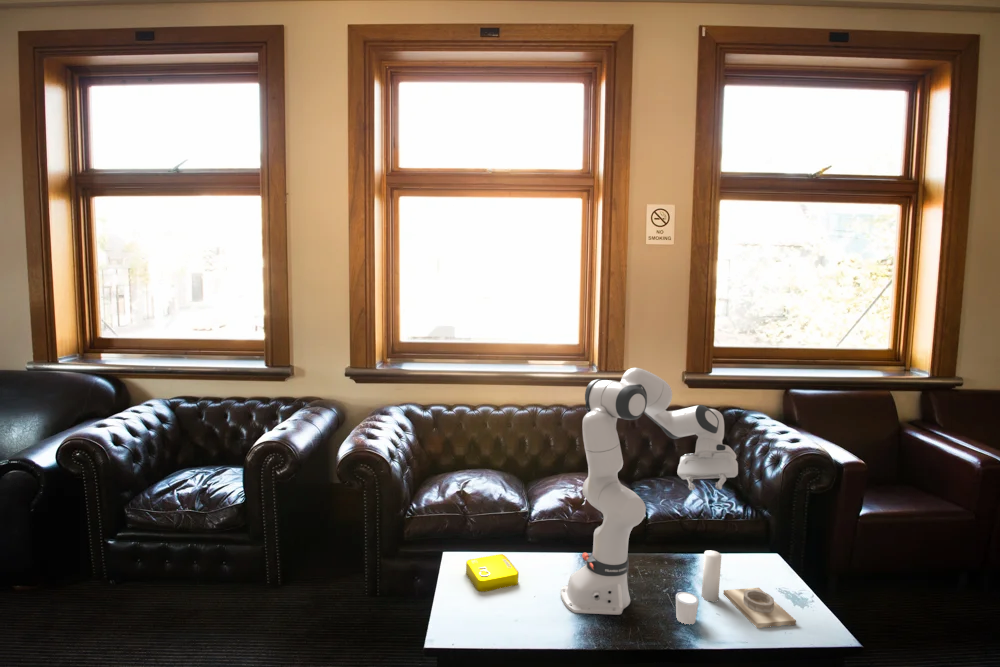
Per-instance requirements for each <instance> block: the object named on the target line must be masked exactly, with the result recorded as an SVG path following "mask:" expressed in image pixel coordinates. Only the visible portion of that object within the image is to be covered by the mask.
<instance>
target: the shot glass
mask: <svg viewBox="0 0 1000 667" xmlns="http://www.w3.org/2000/svg"><path fill="white" fill-rule="evenodd" d="M699 600H700V599H699V598H698V596H697V595H695V594H694V593H691V592H686V591H680V592H679V591H678V592H677V593H676V594H675V614H676V615H675V616H676V618H677V621H678V622H679V623H680V622H681V624H683V623H684V624H683V625H686V624H689V625H688V626H691V625H690V624H692V625H694V624H695V623H696V621H697V613H698V608H699V602H700V601H699Z"/></svg>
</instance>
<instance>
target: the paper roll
mask: <svg viewBox="0 0 1000 667" xmlns="http://www.w3.org/2000/svg"><path fill="white" fill-rule="evenodd" d="M703 554H704V555H703V569H702V586H701V598H702V597H703V598H704V599H703V598H702V599H703V600H704V601H706V600H708V601H707V602H709V601H714V602H713V603H716V602H715V601H717V600H718V601H719V595H720V580H721V568H722V567H721V565H722V554H721V552H718V551H716V550H704V552H703ZM718 601H717V602H718Z"/></svg>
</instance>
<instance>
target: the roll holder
mask: <svg viewBox="0 0 1000 667" xmlns="http://www.w3.org/2000/svg"><path fill="white" fill-rule="evenodd" d="M723 594H724V595H725V596H726V597H727V598H728V599H729V600H730V601H729V600H728V599H727V598H726V597H725V596H724V597H725V598H726V599H727V600H728V601H729V602H730V603H731V604H732V605H733V606H734V607H735V608H736V609H737V610H738V611H739V612H740V613H741V614H742V615H743V616H744V617H745V618H746V619H747V620H748V621H749V622H750V623H753V624H754V625H755V626H756V627H757V628H756V627H755V626H754V627H755V628H756V629H763V628H762V627H766V628H773V627H772V626H777V627H782V626H781V625H788V626H796V624H797V619H795V618H794V617H793V616H792V615H790V613H788V612H787V610H785V609H784V608H783V607H782V606H781V605H779V604H778V603H777V602H776V601H775V599H774V597H773V596H771V595H770V593H767V592H764V591H763V589H761V588H760V587H750V588H749V587H748V588H737V589H736V588H734V589H724V590H723ZM753 624H752V625H753ZM770 626H771V627H770Z"/></svg>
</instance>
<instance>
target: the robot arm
mask: <svg viewBox="0 0 1000 667" xmlns="http://www.w3.org/2000/svg"><path fill="white" fill-rule="evenodd" d="M672 399H673V391H672V387H671V385H669V384H668V382H667V381H665V379H663V378H661V377H660V376H658V375H657V374H655V373H652V372H651V371H649V370H646V369H644V368H639V367H631V368H629V369H627V370H626V371H625V372H624V373H623V375H622V376H621V378H620V381H618V380H613V379H612V380H611V379H609V380H608V379H606V378H597V379H594V380H591V381H590V382H589V383H588V385H587V386H586V389H585V393H584V402H585V408H586V410H587V412H586V414H585V415H584V416H583V418H582V424H581V425H582V428H581V429H582V441H583V445H584V446H583V447H584V452H585V455H586V462H587V468H588V470H587V471H588V472H587V473H588V475H587V478H586V479H585V480H584V481H583V484H582V488H581V490H582V495H583V497H584V498H585V499H586V500H587V502H588V503H589V504H590V505H591V506H592V507H593V508H595V509H596V510H597V511H599V512H601V514H602V515H603V516H602V517H603V521H602V524H601V525H600V526H599V525H598V526H597V527H596V528H595V529H594V532H593V542H592V544H593V545H592V553H591V554H590V556H589V553H587V552H582V555H581V557H582V558H583V560H584V561H586V564H584V566H582V567H581V568H579V569H578V570H576V571H574V572H573V573H572V574H571V575H570V576H569V579H568V582H567V585H562V587H561V589H560V598H561V601H562V602H563V604H564V605H565V607H566V608H567V609H568V610H570V611H571V612H572V613H575V614H591V615H592V614H593V615H595V614H596V615H598V614H599V615H615V616H616V615H622V613H623V612H624V609H626V608H627V607H629V605H630V604H631V597H630V593H629V586H628V574H629V566H630V565H629V557H628V551H629V541H630V540H629V538H630V534H631V531H632V530H633V528H634V527H636V526H639V524H640V523H642V521H644V518H645V515H646V510H647V508H646V504H645V502H644V501H643V499H642V498H641V497H640V496H639V495H638V493H636V492H634V491H633V490H632V489H630V488H628V487H627V486H625V485H623V484H622V483H621V481H620V480H619V478H618V473H619V472H620V471H621V470H622V468H623V467H624V466H623V465H624V460H623V454H622V448H621V443H620V438H619V435H618V431H617V422H618V419H623V420H624V421H625V420H626V421H636V420H638V419H639V418H641V417H642V416H643V415H645V416H646V417H647V418H648V419H650V420H651V421H652V422H654V423H655V425H657V426H658V427H660V428H661V430H662V431H663V432H664V433H665V435H666V436H668V437H669V438H670V439H673V440H678V439H680V438H681V439H682V438H684V437H689V436H693V435H696V436H697V439H696V443H695V449H694V450H695V452H694V453H685V454H684V455H682V456H680V458H679V464H678V466H677V471H676V472H677V475H678V477H679V478H681V480H686V481H687V483H688V489H689V491H694V490H696V484H694V482H693V481H694V480H700V479H701V480H703V479H719V480H718V481H717V482H715V489H716V490H722V489H723V485H724V484H725V482H726V481H727V479H728V478H729V479H730V478H736V477H737V476H738V474H739V463H738V461H737V460H736V459H737V454H736V452H735V451H734V450H733V448H731V447H730V446H729V445H727V444H723V440H724V437H725V420H724V416H723V414H722V413H721V412H720V411H718V410H717V409H715V408H709V407H707V406H706V405H703V404H699V405H693V406H690V407H685V408H680V409H675V410H667V409H668V408H669V406H670V404H671V403H672Z"/></svg>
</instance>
